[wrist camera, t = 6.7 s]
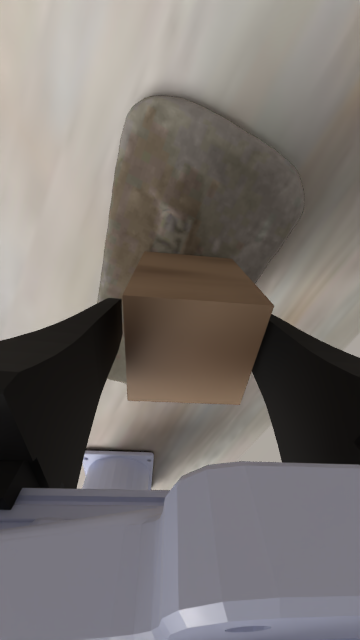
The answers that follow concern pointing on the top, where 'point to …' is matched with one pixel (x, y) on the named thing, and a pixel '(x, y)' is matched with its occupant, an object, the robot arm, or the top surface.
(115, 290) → the stone
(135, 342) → the walnut block
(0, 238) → the top surface
